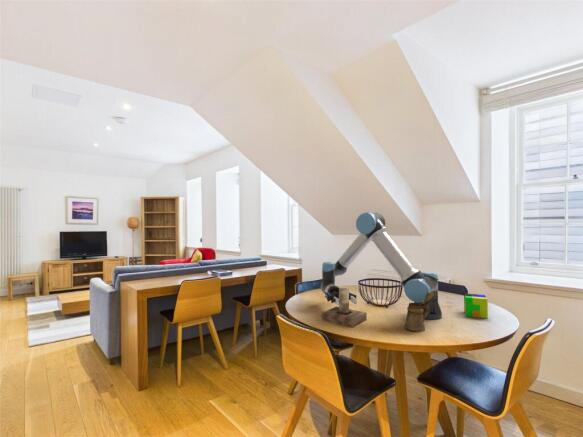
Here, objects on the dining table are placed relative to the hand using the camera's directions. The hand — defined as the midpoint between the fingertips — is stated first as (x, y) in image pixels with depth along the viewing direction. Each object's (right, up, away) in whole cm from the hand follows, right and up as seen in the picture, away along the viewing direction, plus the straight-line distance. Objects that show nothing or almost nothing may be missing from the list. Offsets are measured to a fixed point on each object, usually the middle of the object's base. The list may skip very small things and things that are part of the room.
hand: (347, 301), depth 158 cm
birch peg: (-1, -11, +5) cm, 12 cm away
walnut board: (-1, -11, +4) cm, 11 cm away
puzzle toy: (+72, -10, +13) cm, 73 cm away
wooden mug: (+32, -10, -9) cm, 35 cm away
